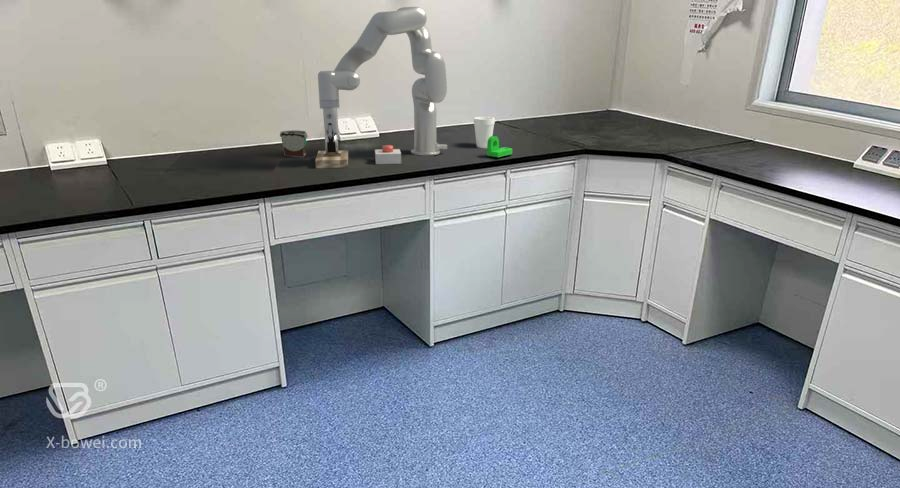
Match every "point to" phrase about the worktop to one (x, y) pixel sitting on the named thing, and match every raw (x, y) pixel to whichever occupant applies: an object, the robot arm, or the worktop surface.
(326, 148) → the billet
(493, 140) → the mechanical part
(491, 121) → the foam cup
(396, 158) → the button station
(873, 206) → the worktop surface
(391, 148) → the button
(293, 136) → the food container
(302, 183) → the worktop surface
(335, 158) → the pallet
